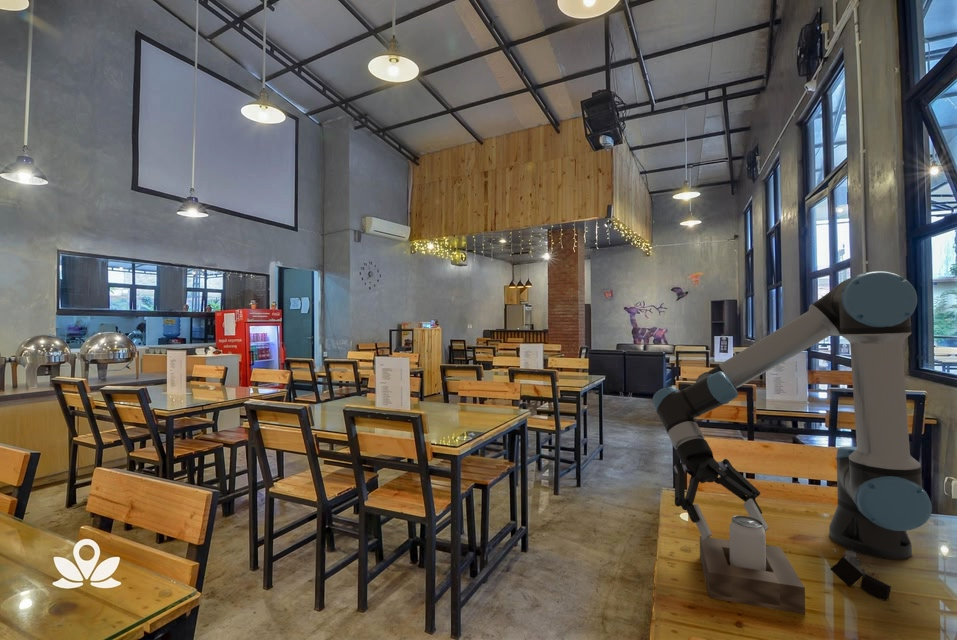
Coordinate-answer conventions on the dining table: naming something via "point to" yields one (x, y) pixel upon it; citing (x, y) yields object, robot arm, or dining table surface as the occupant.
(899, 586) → the dining table surface
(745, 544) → the can
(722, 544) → the socket block
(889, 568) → the dining table surface
